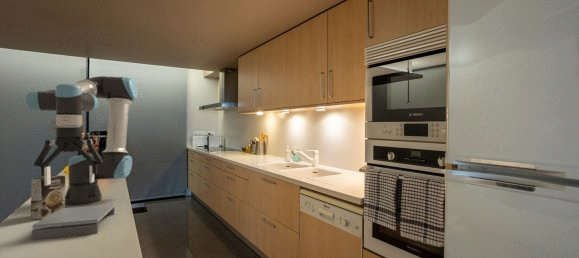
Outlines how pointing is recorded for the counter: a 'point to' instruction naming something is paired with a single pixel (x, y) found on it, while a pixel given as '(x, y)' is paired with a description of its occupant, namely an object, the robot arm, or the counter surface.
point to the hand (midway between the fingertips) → (70, 183)
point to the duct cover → (75, 216)
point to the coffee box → (47, 196)
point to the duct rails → (67, 230)
